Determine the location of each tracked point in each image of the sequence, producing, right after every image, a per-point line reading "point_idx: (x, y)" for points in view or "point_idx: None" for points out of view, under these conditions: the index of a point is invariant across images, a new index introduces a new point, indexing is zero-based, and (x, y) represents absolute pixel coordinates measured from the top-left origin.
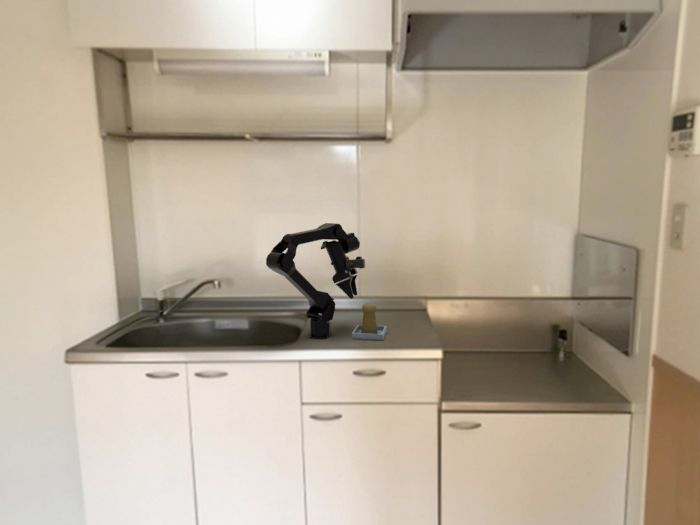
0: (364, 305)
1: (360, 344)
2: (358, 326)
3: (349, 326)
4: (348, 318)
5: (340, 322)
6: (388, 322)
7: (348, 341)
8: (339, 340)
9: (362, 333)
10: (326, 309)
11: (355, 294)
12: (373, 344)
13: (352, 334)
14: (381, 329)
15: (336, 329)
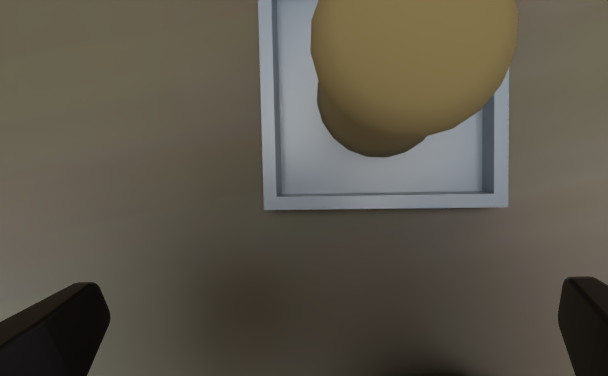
0: (475, 83)
1: (598, 118)
2: (297, 196)
3: (178, 285)
4: None
5: (92, 369)
6: (25, 20)
7: (539, 217)
8: (525, 285)
9: (500, 122)
10: None
11: (98, 315)
12: (584, 26)
13: (505, 201)
14: (275, 19)
15: (267, 361)
